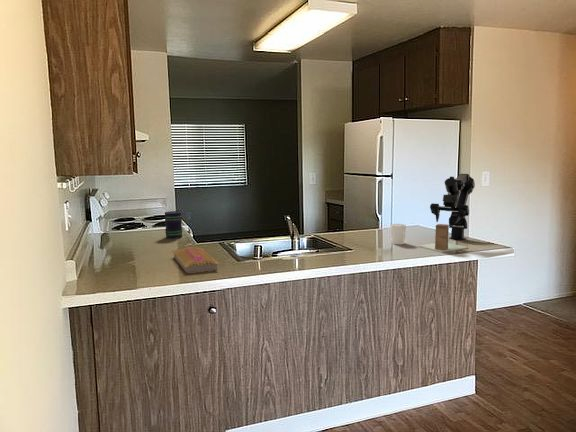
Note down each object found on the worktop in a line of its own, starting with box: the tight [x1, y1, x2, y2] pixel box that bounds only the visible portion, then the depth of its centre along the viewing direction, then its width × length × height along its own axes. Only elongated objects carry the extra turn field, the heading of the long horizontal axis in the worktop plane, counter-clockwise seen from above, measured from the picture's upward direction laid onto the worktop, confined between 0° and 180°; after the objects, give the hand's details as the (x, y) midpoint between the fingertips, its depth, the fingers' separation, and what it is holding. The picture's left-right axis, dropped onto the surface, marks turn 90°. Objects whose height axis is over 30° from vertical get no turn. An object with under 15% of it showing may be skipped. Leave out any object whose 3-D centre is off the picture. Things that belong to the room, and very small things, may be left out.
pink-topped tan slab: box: [171, 246, 220, 274], centre depth 211 cm, size 35×14×6 cm, turn 23°
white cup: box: [390, 223, 407, 245], centre depth 249 cm, size 8×8×10 cm
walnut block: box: [434, 223, 450, 250], centre depth 231 cm, size 5×5×12 cm
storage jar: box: [164, 210, 184, 240], centre depth 275 cm, size 10×10×15 cm
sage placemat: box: [418, 242, 469, 253], centre depth 238 cm, size 18×16×1 cm
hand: (446, 222), depth 236 cm, fingers open, 9 cm apart
